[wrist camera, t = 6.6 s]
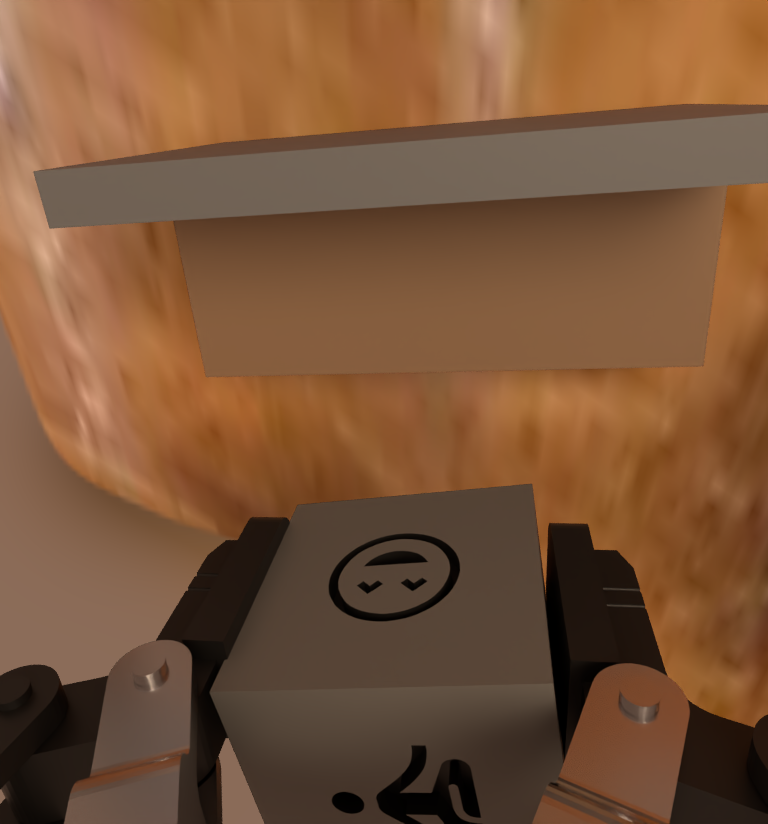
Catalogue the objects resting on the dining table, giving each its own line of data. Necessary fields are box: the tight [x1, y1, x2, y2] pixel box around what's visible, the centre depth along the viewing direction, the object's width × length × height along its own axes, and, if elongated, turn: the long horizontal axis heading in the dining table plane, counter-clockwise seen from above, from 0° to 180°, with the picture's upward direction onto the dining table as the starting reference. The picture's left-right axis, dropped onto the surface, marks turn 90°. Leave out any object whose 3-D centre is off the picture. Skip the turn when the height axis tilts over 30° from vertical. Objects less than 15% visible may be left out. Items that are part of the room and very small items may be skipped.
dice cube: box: [210, 484, 564, 824], centre depth 12 cm, size 5×5×5 cm
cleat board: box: [33, 104, 768, 377], centre depth 19 cm, size 16×7×11 cm, turn 95°
